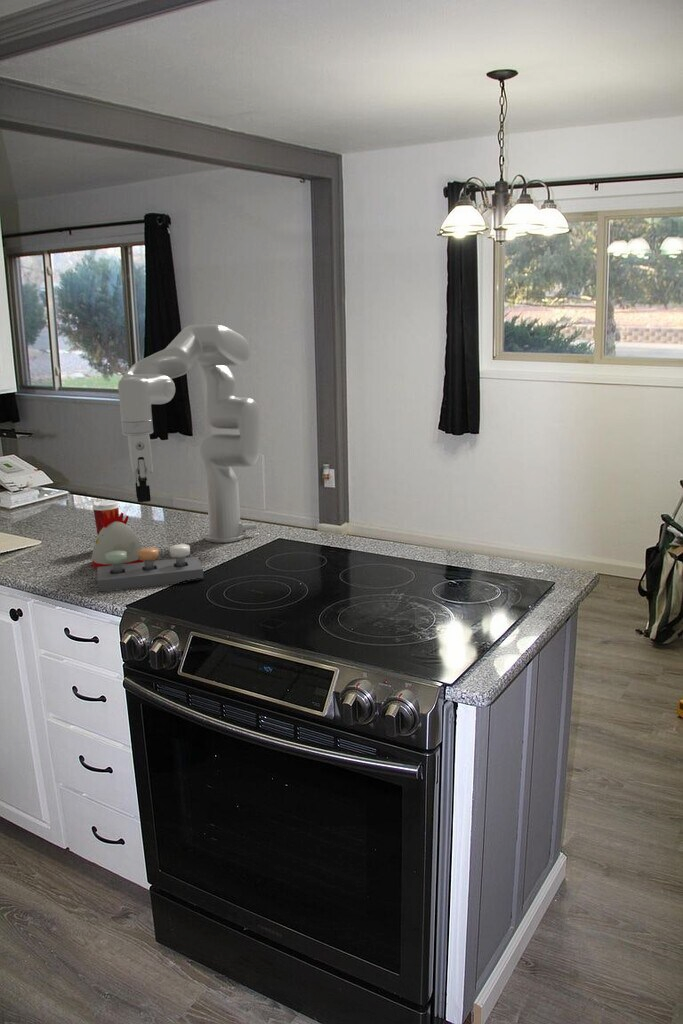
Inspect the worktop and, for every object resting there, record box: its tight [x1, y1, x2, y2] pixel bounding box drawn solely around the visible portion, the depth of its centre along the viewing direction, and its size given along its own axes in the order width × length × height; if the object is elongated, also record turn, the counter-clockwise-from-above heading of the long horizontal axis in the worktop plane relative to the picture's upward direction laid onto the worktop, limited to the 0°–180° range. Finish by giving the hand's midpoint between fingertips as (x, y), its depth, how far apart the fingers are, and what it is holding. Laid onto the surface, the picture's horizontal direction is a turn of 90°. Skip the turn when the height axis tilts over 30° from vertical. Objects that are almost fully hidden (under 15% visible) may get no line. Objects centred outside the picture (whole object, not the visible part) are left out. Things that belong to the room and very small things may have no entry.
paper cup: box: [92, 500, 120, 535], centre depth 248 cm, size 8×8×14 cm
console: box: [96, 556, 204, 592], centre depth 219 cm, size 26×12×3 cm, turn 106°
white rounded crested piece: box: [91, 510, 144, 569], centre depth 234 cm, size 14×14×15 cm
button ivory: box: [169, 543, 191, 567], centre depth 221 cm, size 5×5×5 cm
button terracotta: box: [138, 546, 160, 570], centre depth 219 cm, size 5×5×5 cm
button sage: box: [105, 551, 127, 574], centre depth 216 cm, size 5×5×5 cm
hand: (143, 498), depth 215 cm, fingers open, 4 cm apart
